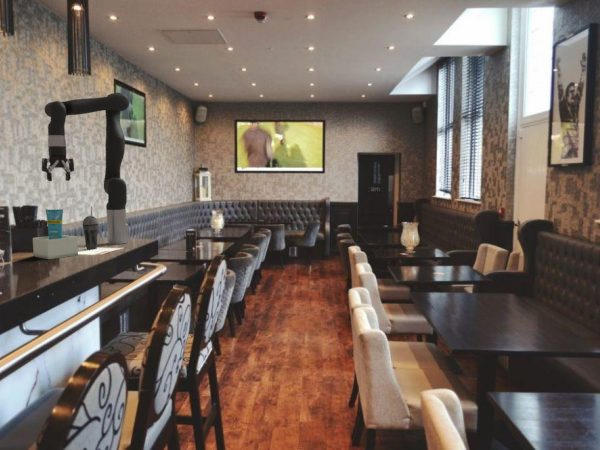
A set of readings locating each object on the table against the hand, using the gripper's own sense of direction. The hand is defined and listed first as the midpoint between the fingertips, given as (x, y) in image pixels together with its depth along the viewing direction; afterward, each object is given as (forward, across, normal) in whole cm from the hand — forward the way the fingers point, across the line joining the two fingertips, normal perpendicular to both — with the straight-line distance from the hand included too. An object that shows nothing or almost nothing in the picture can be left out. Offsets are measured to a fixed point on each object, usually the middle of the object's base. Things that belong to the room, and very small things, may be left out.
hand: (58, 180), depth 251 cm
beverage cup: (+32, -9, +10) cm, 35 cm away
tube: (+31, +12, +17) cm, 38 cm away
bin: (+32, +12, +17) cm, 38 cm away
